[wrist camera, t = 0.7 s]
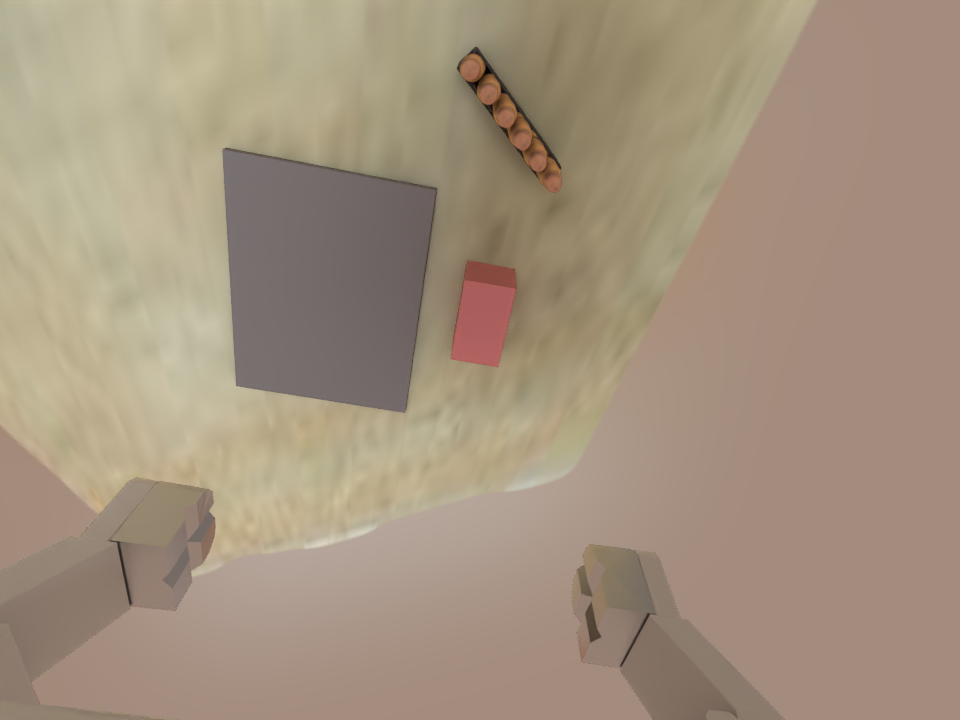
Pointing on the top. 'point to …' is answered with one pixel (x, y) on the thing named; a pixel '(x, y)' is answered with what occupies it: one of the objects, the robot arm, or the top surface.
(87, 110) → the top surface
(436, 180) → the top surface
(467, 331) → the red rectangular block
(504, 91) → the ammunition clip
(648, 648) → the robot arm
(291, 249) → the mat
